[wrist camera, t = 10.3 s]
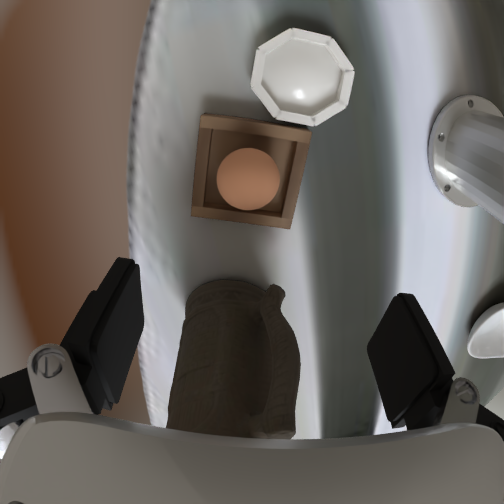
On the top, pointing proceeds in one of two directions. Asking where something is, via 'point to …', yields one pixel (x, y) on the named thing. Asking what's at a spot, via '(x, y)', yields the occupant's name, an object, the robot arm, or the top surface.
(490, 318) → the spoon rest
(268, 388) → the beer stein
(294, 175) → the tray
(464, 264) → the top surface
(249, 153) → the ball
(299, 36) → the octagonal white dish
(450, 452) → the robot arm
